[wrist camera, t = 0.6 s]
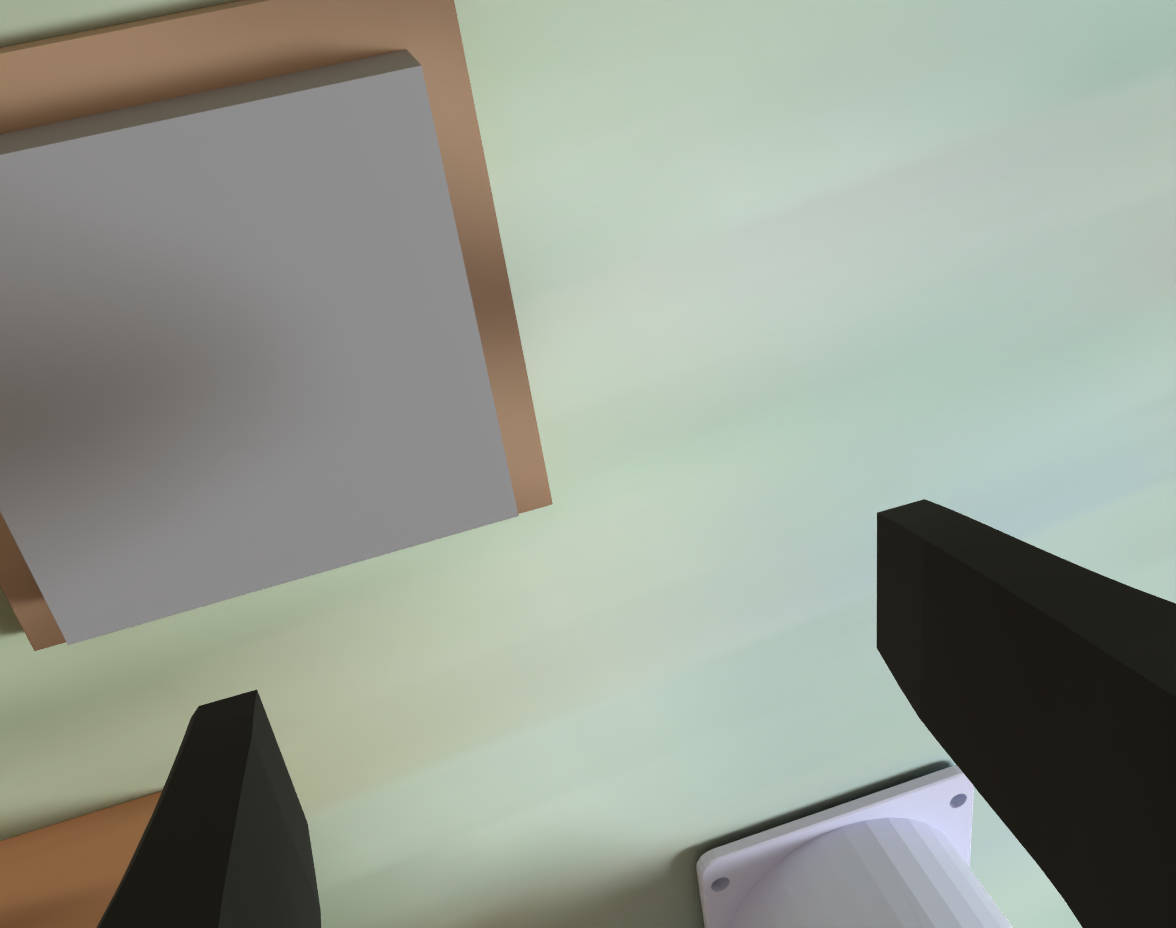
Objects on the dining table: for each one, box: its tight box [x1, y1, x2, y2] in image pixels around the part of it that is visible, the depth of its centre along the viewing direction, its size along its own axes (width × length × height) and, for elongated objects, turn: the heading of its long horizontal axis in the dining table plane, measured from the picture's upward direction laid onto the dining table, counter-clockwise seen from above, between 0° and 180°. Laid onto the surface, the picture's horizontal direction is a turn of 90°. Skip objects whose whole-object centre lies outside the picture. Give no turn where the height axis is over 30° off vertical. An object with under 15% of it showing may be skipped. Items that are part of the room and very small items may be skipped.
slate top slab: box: [0, 49, 519, 645], centre depth 18 cm, size 8×8×2 cm
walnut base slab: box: [0, 0, 552, 651], centre depth 20 cm, size 10×10×2 cm
